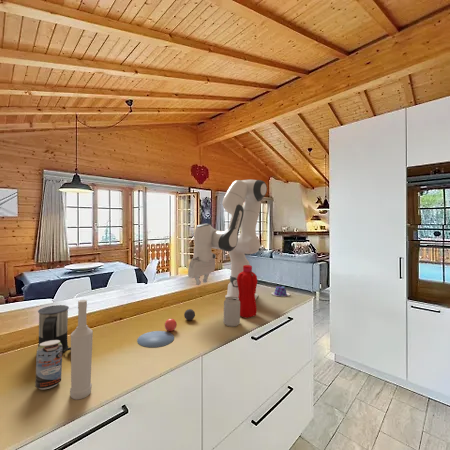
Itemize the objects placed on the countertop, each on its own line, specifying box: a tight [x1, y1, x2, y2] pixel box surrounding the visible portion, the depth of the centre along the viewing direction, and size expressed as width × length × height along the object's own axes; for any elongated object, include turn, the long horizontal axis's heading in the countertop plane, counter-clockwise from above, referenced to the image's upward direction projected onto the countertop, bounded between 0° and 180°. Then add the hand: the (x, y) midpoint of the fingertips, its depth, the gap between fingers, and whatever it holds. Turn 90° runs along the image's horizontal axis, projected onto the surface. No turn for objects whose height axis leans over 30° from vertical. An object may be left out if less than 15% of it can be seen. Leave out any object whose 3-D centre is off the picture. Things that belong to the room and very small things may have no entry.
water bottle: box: [237, 264, 258, 319], centre depth 134 cm, size 9×11×25 cm
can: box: [223, 296, 241, 328], centre depth 122 cm, size 8×8×12 cm
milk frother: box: [37, 304, 71, 354], centre depth 94 cm, size 14×16×15 cm
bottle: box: [69, 299, 94, 400], centre depth 71 cm, size 5×5×25 cm
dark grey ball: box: [183, 308, 196, 321], centre depth 126 cm, size 5×5×5 cm
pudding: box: [270, 285, 291, 298], centre depth 174 cm, size 12×12×5 cm
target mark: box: [136, 330, 175, 348], centre depth 105 cm, size 14×14×1 cm
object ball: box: [164, 318, 178, 332], centre depth 113 cm, size 5×5×5 cm
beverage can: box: [34, 340, 63, 390], centre depth 75 cm, size 6×7×12 cm
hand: (201, 283), depth 134 cm, fingers open, 5 cm apart
